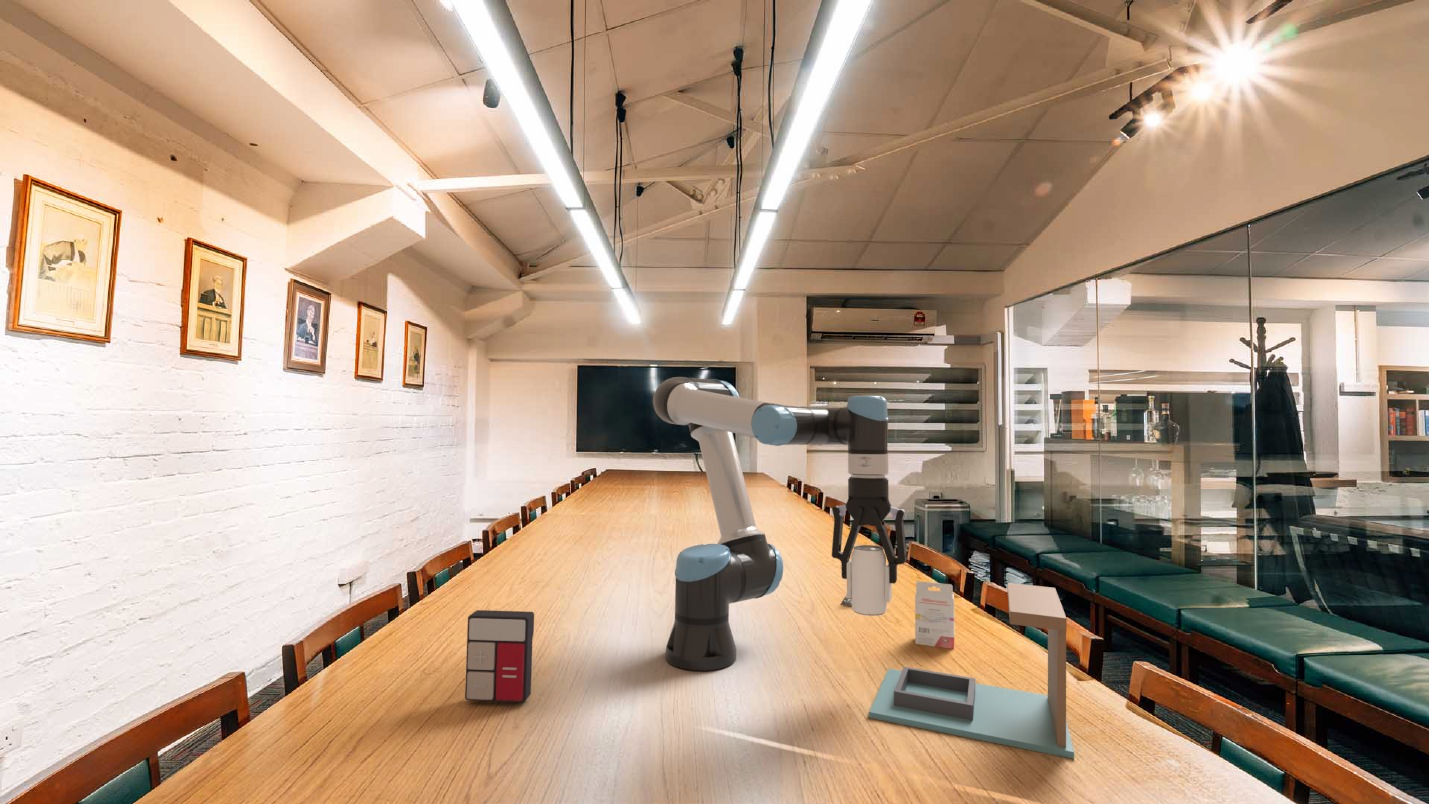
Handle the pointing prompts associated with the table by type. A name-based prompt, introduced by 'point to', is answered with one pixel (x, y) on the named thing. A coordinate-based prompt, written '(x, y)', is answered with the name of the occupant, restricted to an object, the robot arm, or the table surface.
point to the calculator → (499, 656)
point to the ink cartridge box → (934, 615)
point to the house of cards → (847, 601)
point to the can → (868, 580)
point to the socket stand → (990, 690)
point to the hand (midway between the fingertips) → (869, 598)
